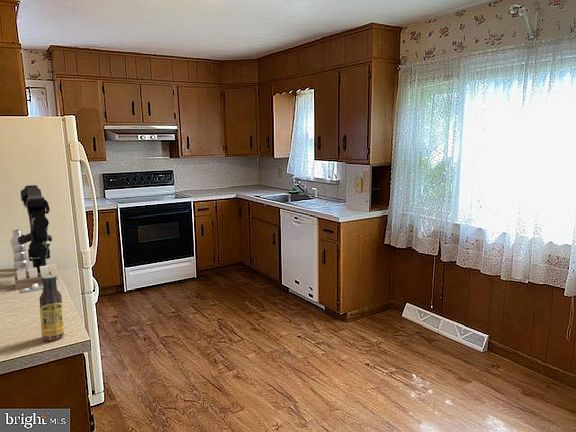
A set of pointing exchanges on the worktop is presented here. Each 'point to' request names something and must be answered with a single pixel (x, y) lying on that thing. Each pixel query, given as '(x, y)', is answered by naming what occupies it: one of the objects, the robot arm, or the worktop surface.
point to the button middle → (33, 272)
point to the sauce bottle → (51, 310)
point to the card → (32, 288)
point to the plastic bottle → (19, 251)
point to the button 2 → (44, 270)
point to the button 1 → (21, 274)
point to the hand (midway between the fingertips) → (43, 261)
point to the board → (29, 281)
